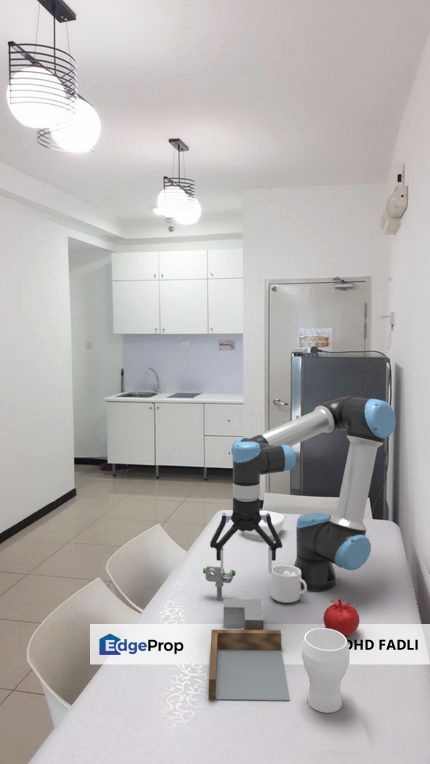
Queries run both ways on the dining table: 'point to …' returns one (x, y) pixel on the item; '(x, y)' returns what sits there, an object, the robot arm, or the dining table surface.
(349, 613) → the pomegranate
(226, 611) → the bracket
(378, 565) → the dining table surface
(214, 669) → the corner walls
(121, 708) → the dining table surface
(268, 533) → the bowl
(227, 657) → the slate mat
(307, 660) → the cup
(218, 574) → the mechanical component
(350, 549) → the robot arm
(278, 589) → the mug
